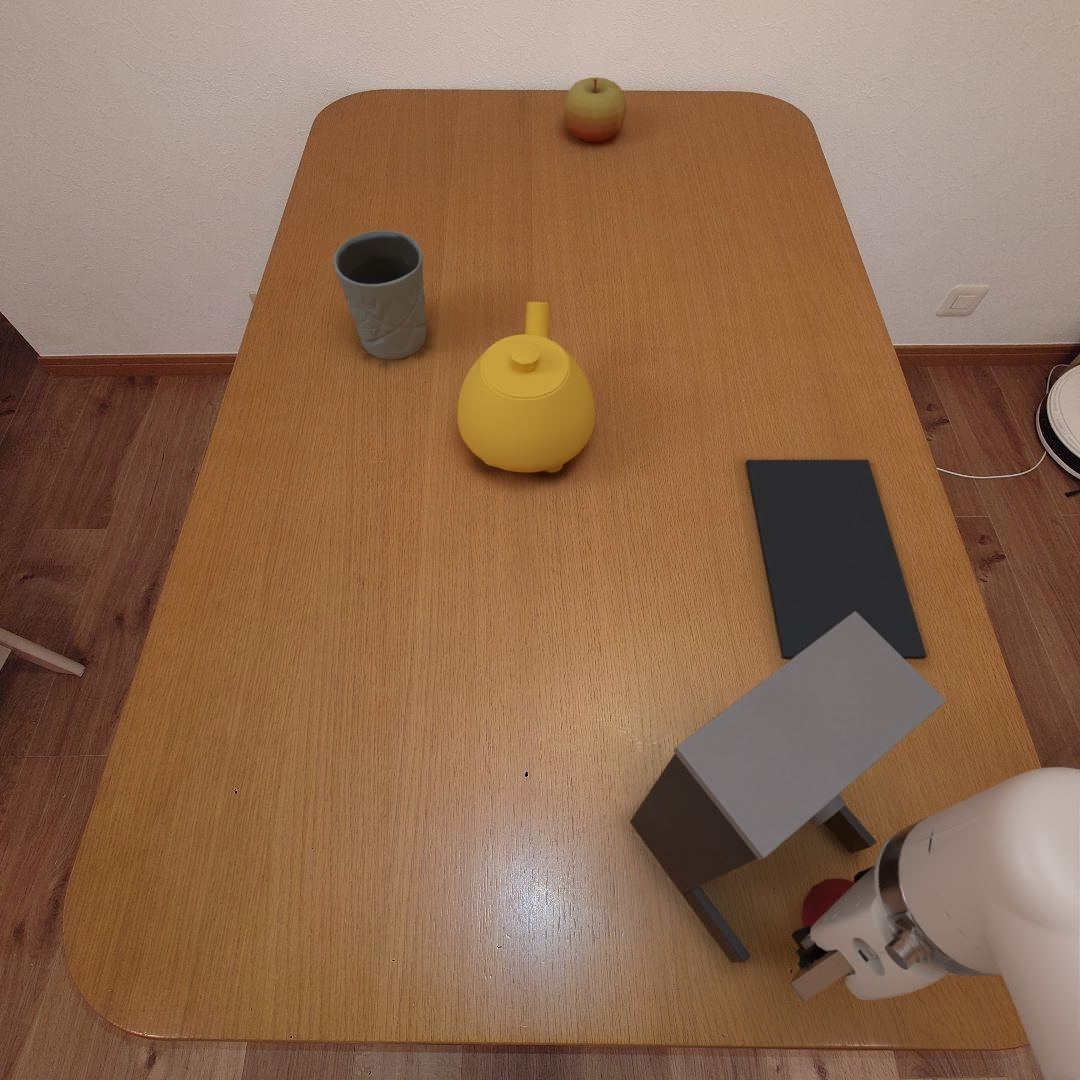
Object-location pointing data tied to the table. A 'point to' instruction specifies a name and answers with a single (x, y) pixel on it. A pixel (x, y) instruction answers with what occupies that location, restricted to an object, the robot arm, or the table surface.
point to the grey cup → (384, 291)
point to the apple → (594, 109)
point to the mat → (829, 552)
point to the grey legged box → (781, 763)
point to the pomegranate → (823, 899)
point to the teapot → (526, 401)
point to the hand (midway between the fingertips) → (840, 922)
